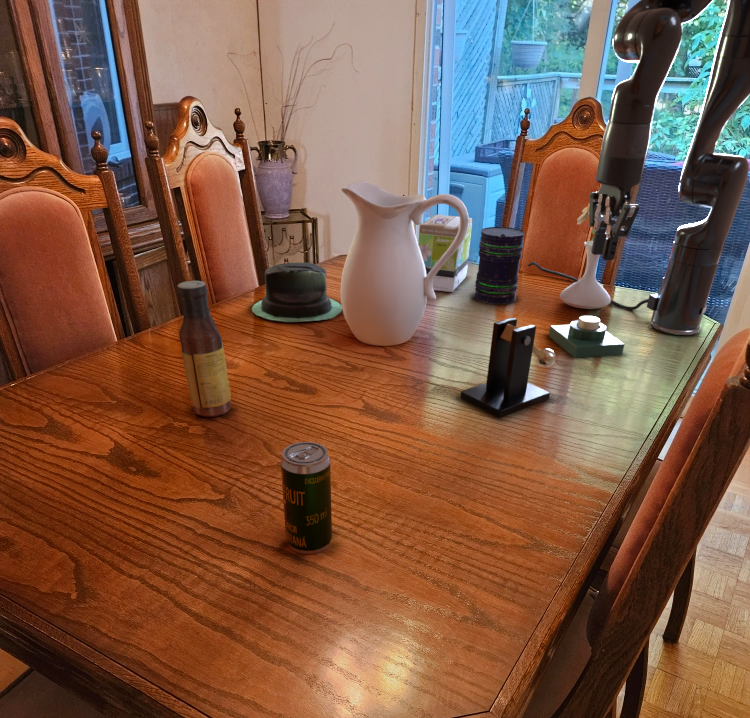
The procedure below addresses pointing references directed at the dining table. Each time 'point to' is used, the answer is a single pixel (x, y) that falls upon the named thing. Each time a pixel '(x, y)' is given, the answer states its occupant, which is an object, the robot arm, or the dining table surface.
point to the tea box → (444, 250)
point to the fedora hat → (296, 294)
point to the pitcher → (390, 264)
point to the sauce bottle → (203, 353)
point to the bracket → (507, 374)
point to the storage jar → (498, 265)
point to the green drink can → (307, 497)
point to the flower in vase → (586, 281)
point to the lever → (543, 356)
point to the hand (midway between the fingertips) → (602, 256)
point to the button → (588, 322)
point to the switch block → (586, 340)
